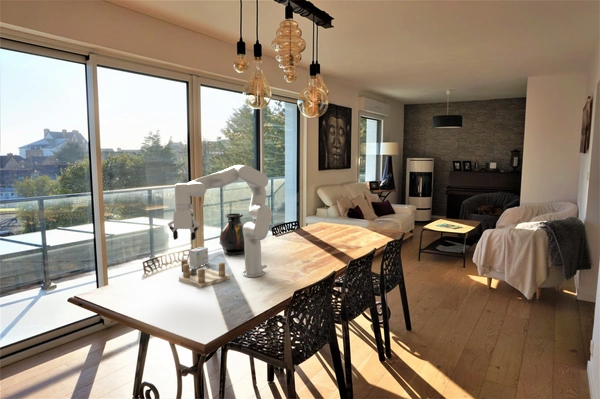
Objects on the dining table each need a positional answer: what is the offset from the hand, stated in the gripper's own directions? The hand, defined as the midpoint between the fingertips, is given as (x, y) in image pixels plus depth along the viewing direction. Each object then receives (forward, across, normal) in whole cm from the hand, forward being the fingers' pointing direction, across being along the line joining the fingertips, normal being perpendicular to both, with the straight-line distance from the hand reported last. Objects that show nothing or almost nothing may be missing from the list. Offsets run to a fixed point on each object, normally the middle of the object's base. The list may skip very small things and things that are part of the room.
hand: (184, 239), depth 201 cm
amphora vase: (+27, -2, -76) cm, 81 cm away
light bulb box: (+27, +12, -43) cm, 52 cm away
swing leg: (+25, +8, -20) cm, 33 cm away
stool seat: (+27, -3, -16) cm, 31 cm away
